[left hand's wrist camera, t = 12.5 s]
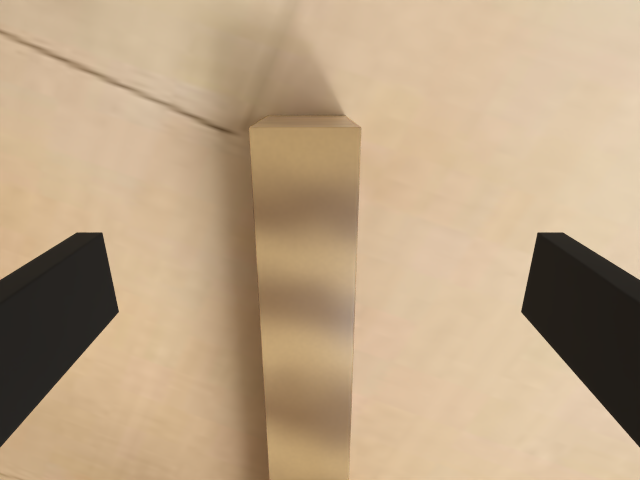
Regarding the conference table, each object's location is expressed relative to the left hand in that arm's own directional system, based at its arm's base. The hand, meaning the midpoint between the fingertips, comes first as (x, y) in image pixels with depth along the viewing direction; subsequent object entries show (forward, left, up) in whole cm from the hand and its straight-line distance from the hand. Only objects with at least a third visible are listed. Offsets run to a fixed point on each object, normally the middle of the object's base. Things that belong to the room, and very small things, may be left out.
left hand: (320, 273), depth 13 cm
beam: (+13, +21, -16) cm, 29 cm away
